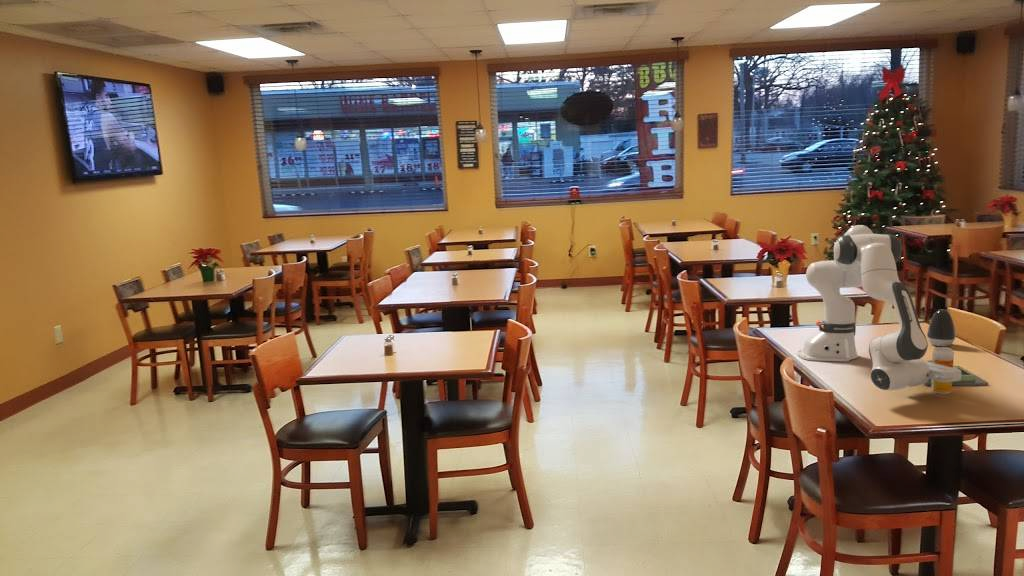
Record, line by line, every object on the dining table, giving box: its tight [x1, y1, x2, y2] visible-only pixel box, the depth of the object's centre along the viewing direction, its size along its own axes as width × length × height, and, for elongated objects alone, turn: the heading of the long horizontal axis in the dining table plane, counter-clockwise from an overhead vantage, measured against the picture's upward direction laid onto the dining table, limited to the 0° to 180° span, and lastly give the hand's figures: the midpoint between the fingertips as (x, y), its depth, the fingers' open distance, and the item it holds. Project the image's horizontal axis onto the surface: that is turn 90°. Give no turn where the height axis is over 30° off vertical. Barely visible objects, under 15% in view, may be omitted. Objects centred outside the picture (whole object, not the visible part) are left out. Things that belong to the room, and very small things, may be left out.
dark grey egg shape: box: [926, 308, 956, 347], centre depth 304 cm, size 10×10×15 cm
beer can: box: [930, 346, 955, 395], centre depth 246 cm, size 6×6×15 cm
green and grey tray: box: [923, 364, 989, 387], centre depth 261 cm, size 20×16×3 cm
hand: (944, 365), depth 246 cm, fingers open, 7 cm apart
